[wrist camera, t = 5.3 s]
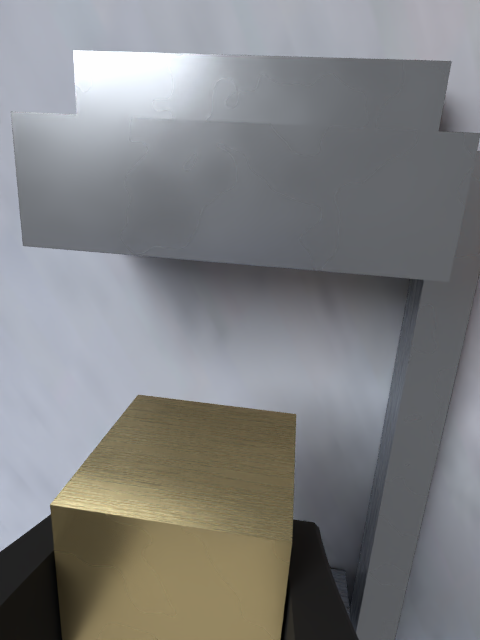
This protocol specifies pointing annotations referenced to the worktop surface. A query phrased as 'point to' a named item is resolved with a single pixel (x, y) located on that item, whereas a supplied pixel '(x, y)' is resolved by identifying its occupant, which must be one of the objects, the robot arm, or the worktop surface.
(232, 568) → the brass block
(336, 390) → the worktop surface
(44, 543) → the robot arm
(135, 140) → the vise
